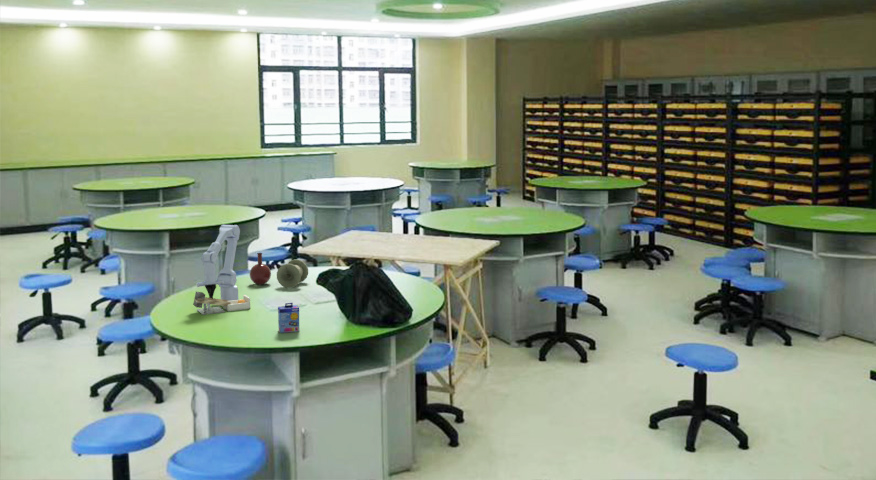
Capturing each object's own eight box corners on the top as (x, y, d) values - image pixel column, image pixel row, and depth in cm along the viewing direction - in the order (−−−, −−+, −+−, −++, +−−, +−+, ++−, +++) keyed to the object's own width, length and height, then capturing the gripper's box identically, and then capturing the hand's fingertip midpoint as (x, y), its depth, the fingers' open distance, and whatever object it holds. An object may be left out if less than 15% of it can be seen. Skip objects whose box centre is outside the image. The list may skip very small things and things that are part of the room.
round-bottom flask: (268, 286, 472) (267, 255, 469) (247, 286, 473) (246, 255, 470) (273, 282, 485) (272, 251, 482) (253, 282, 486) (251, 251, 483)
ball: (240, 297, 420) (235, 303, 419) (242, 298, 416) (237, 304, 416) (245, 301, 422) (240, 307, 421) (247, 303, 418) (243, 308, 417)
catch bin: (245, 305, 425) (244, 294, 424) (250, 308, 417) (249, 297, 416) (223, 307, 419) (222, 297, 418) (227, 311, 410) (227, 300, 409)
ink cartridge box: (280, 333, 368) (279, 304, 365) (277, 330, 373) (277, 301, 371) (300, 331, 371) (299, 302, 369) (297, 328, 376) (297, 300, 374)
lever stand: (219, 307, 419) (218, 297, 418) (224, 312, 408) (224, 302, 408) (196, 310, 412) (196, 300, 412) (202, 315, 402) (201, 304, 401)
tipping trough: (196, 307, 403) (198, 293, 403) (190, 302, 413) (193, 289, 412) (229, 311, 412) (231, 298, 412) (223, 306, 422) (226, 293, 422)
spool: (285, 282, 487) (285, 259, 484) (308, 282, 485) (307, 259, 482) (277, 287, 470) (276, 263, 468) (300, 288, 468) (299, 264, 466)
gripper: (198, 276, 407) (199, 301, 409) (225, 273, 414) (226, 297, 416) (195, 274, 413) (196, 298, 415) (221, 271, 420) (222, 295, 422)
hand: (211, 298), depth 416 cm, fingers closed
